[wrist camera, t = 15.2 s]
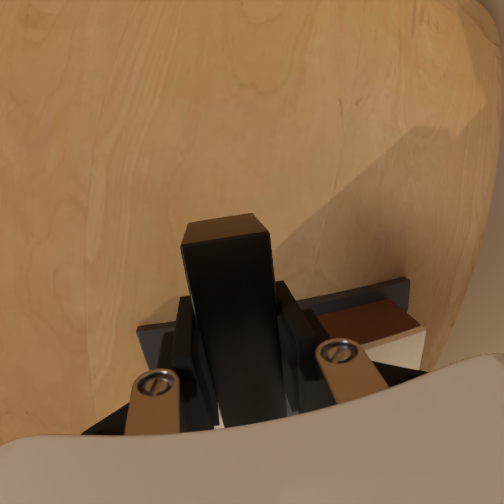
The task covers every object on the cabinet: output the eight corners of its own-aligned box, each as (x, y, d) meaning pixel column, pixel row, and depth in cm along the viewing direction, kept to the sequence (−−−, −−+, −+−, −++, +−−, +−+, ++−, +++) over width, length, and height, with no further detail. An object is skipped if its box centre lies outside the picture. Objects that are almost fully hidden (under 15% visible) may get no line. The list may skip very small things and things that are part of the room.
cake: (137, 325, 20) (119, 378, 14) (405, 276, 22) (451, 307, 16) (188, 454, 24) (189, 503, 19) (386, 410, 26) (411, 447, 21)
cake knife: (187, 222, 11) (175, 259, 7) (252, 212, 11) (280, 242, 7) (250, 488, 16) (260, 540, 12) (285, 482, 17) (299, 532, 12)
